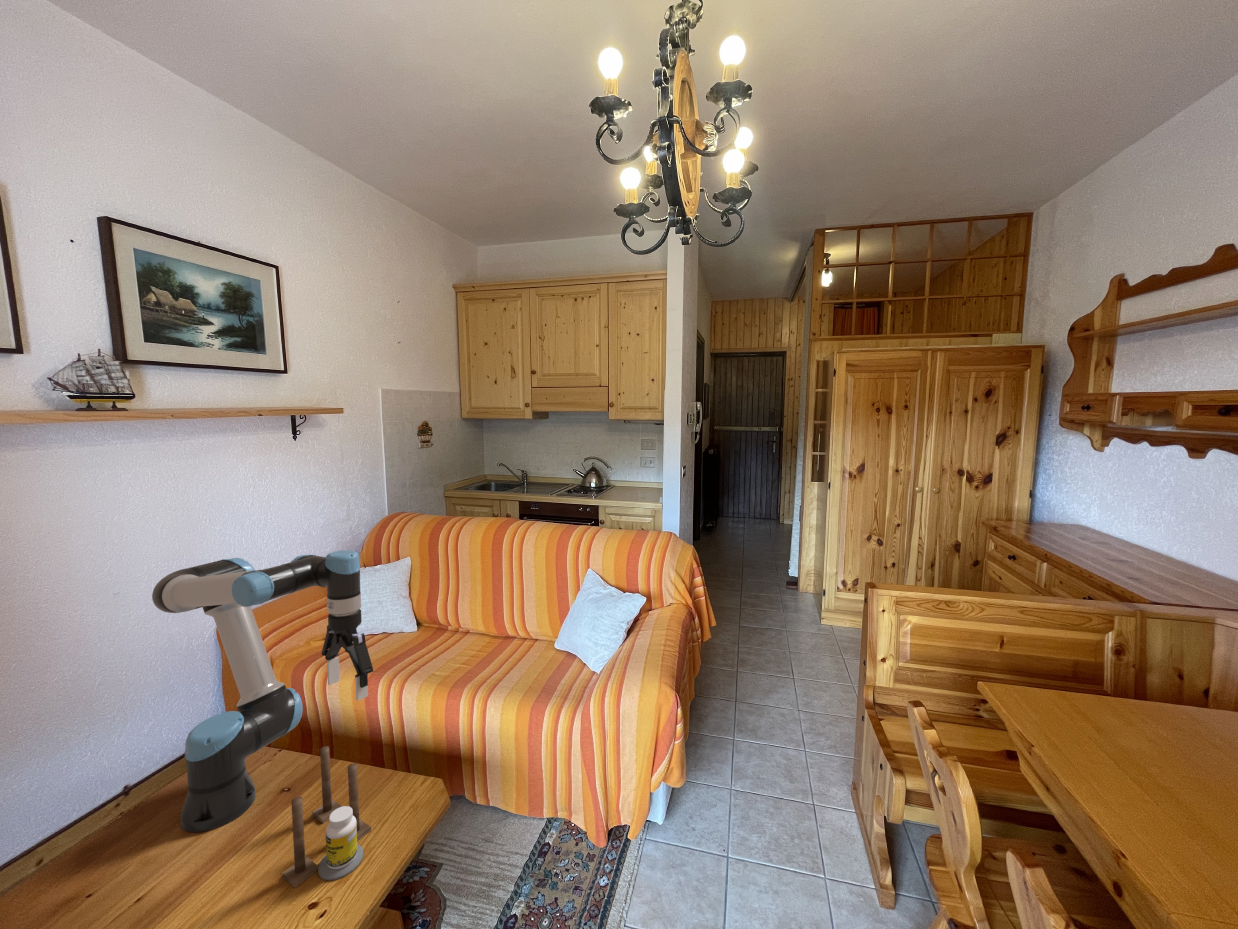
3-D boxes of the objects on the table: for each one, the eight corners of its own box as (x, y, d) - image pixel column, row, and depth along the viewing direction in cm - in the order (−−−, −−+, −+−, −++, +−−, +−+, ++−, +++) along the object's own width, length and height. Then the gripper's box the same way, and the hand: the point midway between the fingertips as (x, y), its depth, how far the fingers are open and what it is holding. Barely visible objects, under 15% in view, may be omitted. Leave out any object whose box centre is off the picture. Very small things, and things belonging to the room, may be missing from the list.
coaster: (310, 868, 110) (310, 865, 110) (349, 839, 117) (349, 837, 117) (331, 887, 105) (331, 885, 105) (371, 856, 113) (371, 854, 113)
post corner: (339, 836, 118) (336, 768, 117) (359, 822, 123) (356, 756, 121) (351, 845, 116) (348, 776, 114) (370, 830, 120) (368, 763, 119)
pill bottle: (319, 868, 109) (318, 821, 108) (341, 845, 115) (339, 801, 114) (343, 873, 108) (341, 827, 107) (363, 850, 114) (362, 805, 113)
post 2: (312, 815, 125) (309, 750, 124) (332, 802, 129) (329, 740, 128) (322, 823, 122) (319, 757, 121) (342, 810, 126) (339, 746, 125)
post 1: (282, 877, 108) (278, 802, 106) (306, 859, 112) (303, 788, 111) (294, 888, 105) (290, 812, 104) (318, 870, 109) (314, 796, 108)
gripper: (305, 605, 129) (308, 682, 130) (357, 627, 115) (360, 712, 117) (334, 597, 135) (336, 671, 136) (386, 617, 122) (389, 698, 123)
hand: (347, 690), depth 127 cm, fingers open, 13 cm apart
